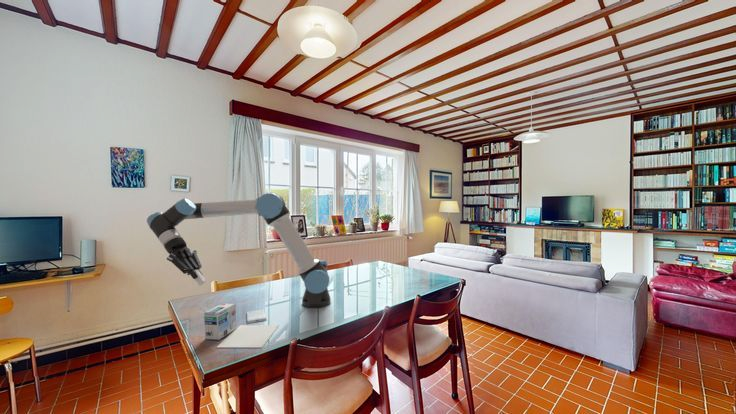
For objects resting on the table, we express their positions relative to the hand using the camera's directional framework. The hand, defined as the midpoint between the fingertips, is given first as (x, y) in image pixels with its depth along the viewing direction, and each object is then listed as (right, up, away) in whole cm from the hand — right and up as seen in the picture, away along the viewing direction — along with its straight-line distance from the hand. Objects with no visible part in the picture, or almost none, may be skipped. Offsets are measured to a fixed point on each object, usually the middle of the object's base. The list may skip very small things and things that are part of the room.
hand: (202, 283), depth 118 cm
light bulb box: (+10, -20, -4) cm, 23 cm away
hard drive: (+17, -21, +14) cm, 30 cm away
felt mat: (+22, -20, -5) cm, 30 cm away
